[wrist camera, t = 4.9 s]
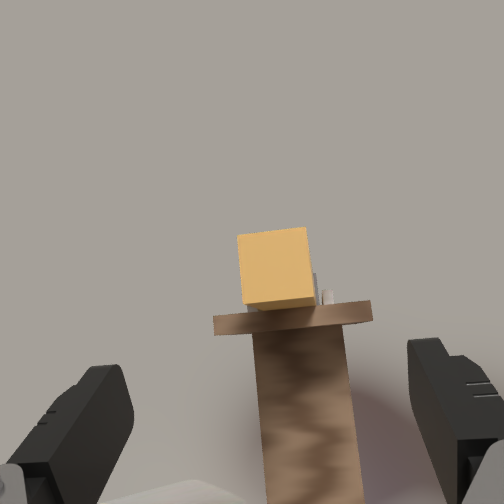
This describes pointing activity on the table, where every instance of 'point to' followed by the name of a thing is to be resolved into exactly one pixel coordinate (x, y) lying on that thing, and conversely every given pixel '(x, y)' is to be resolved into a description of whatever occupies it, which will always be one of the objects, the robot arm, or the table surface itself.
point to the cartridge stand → (304, 399)
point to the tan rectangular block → (277, 270)
